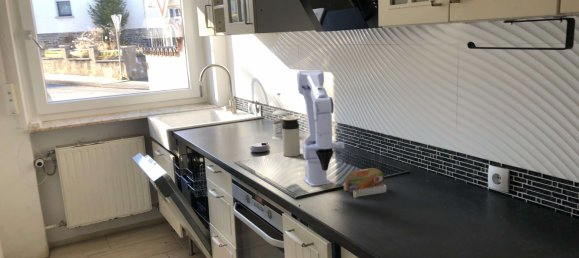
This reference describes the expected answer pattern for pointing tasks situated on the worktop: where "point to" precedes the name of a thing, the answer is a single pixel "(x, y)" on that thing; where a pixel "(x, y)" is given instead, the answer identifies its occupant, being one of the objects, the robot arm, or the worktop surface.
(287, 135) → the travel mug
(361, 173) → the tin
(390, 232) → the worktop surface
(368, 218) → the worktop surface
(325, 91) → the robot arm
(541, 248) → the worktop surface
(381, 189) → the door track
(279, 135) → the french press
